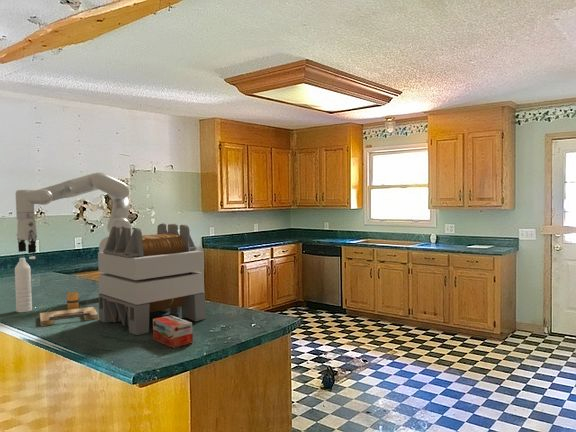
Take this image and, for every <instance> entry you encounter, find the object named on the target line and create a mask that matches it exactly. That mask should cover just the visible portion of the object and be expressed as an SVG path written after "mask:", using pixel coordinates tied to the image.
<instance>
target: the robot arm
mask: <svg viewBox="0 0 576 432" xmlns="http://www.w3.org/2000/svg"><path fill="white" fill-rule="evenodd" d="M98 190H100V191H102V192H104V193H105V194H107V196H108V197H109V198H110V200H111V201H112V209H111V213H110V216H109V219H108V222H107V224H106V229H107V232H108V233H109V234H110V232H111V229H112V227H115V226H119V227H120V235H121V232H122V229H123V228H121V227H128V228H131V229H132V224H131V222H130V221H129V219H128V218H129V214H130V209H131V203H130V202H131V201H130V198H129V195H130V191H131V190H130V187H129V185H127V184H126V183H125V182H123V181H121V180H118V179H117V178H114V177H112V176H110V175H108V174H106V173H104V172H93V173H90V174H87V175H83V176H79V177H76V178H75V177H74V178H72V179H68V180H65V181H63V182H60V183H57V184H54V185H50V186H45V187H42V188H40V189H35V190H34V189H18V190H16V191H15V210H16V211H15V212H16V220H17V222H16V223H17V225H16V226H17V227H16V228H17V230H16V231H17V233H16V237H17V244H18V252H19V253H21V252H22V253H23V252H26V251H28V254H32V253H36V252H37V248H36V247H37V246H36V245H37V242H36V241H37V239H38V234H37V233H38V232H37V225H36V220H35V219H36V216H35V205H40V206H46V205H48V204H50V203H52V202H54V201H59V200H62V199H69V198H74V197H78V196H82V195H84V194H88V193H91V192H93V191H98ZM108 237H109V236H106V237H103V238H102V239H101V241H100V242H99V246H98V251H99V252H103V250H104V249H105V246H106V243H107V240H108ZM26 241H27V243H28V244H26ZM100 274H105V273H104V272H100Z"/></svg>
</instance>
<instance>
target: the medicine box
mask: <svg viewBox="0 0 576 432" xmlns="http://www.w3.org/2000/svg"><path fill="white" fill-rule="evenodd" d="M152 330H153V331H152V333H153V334H152V335H153V337H152V338H153V341H156V342H158V343H160V344H162V345H164V344H165V346H166V345H167V346H166V347H168V346H169V347H168V348H170V347H172V348H174V347H177V348H179V347H178V346H180V347H182V345H183V346H187V345H186V344H189V343H193V341H194V333H193V332H194V331H193V322H191V321H189V320H186V319H182V318H180V317H177V316H176V315H173V314H171V315H167V316H162V317H161V316H160V317H155V318H152ZM189 345H190V344H189ZM172 348H171V349H172ZM174 349H175V348H174Z"/></svg>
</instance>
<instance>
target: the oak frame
mask: <svg viewBox="0 0 576 432" xmlns="http://www.w3.org/2000/svg"><path fill="white" fill-rule="evenodd" d="M77 317H83V318H84V320H85V321H92V320H99V312H98V311H97V310H96V308H95V307H94V306H90V307H89V306H88V307H79V309H70V310H68V309H63V310H53V311H46V312H39V321H40V327H44V326H45V327H46V326H52V325H55V320H59V319H60V320H61V319H69V318H77Z"/></svg>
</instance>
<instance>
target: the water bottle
mask: <svg viewBox="0 0 576 432" xmlns="http://www.w3.org/2000/svg"><path fill="white" fill-rule="evenodd" d="M28 258H29V260H36V256H33V255H32V256H29V257H28ZM26 260H27V259H26V258H25V257H19V259H18V262H17V264H16V265H15V267H14V282H15V283H14V288H15V312H16V313H29V312H31V311H33V301H32V300H33V299H32V296H33V295H32V274H31V271H32V269H31V266H30V265H29V263H28V262H27V261H26Z"/></svg>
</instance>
